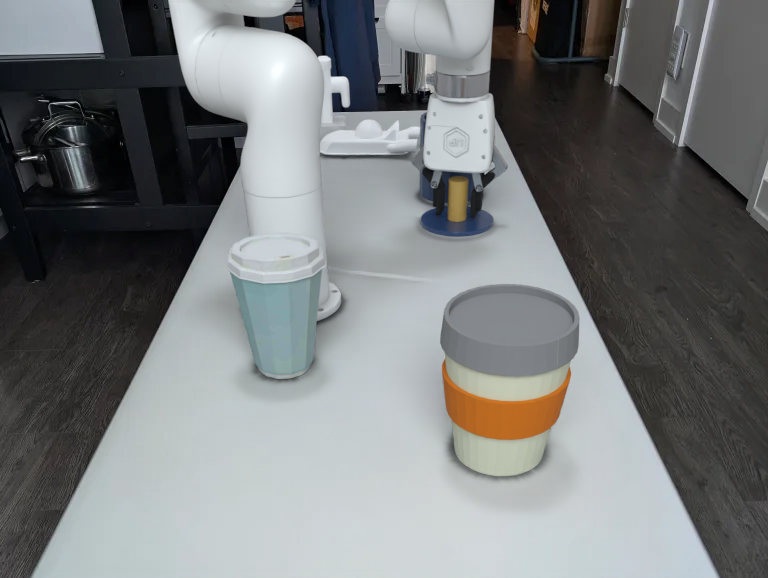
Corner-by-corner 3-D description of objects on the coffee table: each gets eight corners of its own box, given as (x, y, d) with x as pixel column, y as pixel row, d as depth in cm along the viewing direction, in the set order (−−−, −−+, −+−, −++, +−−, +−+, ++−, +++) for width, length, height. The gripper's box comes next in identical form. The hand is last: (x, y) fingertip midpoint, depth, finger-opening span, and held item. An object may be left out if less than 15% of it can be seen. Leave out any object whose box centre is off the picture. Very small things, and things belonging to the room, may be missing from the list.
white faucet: (352, 145, 159) (348, 60, 149) (304, 147, 158) (298, 62, 149) (350, 134, 164) (347, 52, 155) (305, 136, 164) (298, 54, 154)
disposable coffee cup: (232, 353, 97) (213, 231, 87) (317, 336, 99) (308, 216, 90) (254, 397, 89) (235, 269, 79) (345, 378, 92) (338, 252, 82)
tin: (474, 209, 131) (478, 128, 123) (412, 203, 134) (413, 123, 126) (486, 188, 139) (491, 110, 131) (427, 183, 141) (428, 106, 133)
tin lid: (485, 243, 121) (488, 195, 116) (412, 236, 123) (412, 188, 118) (498, 216, 129) (502, 170, 124) (430, 210, 131) (431, 164, 127)
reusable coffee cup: (457, 405, 87) (464, 275, 77) (572, 427, 83) (594, 293, 74) (419, 471, 78) (421, 334, 68) (546, 499, 75) (566, 358, 65)
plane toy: (321, 142, 160) (319, 111, 157) (421, 144, 158) (421, 112, 155) (312, 159, 153) (310, 126, 149) (416, 161, 151) (417, 128, 147)
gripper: (397, 88, 112) (398, 217, 124) (517, 94, 108) (506, 227, 120) (411, 75, 117) (410, 200, 129) (526, 81, 114) (515, 209, 125)
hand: (457, 212), depth 125 cm, fingers open, 4 cm apart
